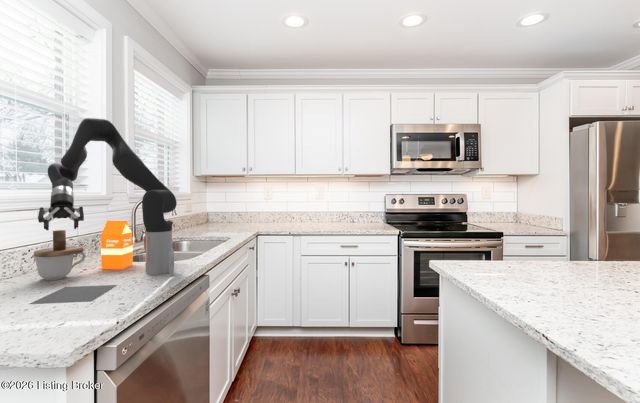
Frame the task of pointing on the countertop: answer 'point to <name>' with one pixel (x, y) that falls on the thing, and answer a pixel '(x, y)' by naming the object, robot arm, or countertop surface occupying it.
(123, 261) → the orange juice
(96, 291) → the rubber mat
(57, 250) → the walnut lid
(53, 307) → the countertop surface
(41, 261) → the teacup
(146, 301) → the countertop surface
